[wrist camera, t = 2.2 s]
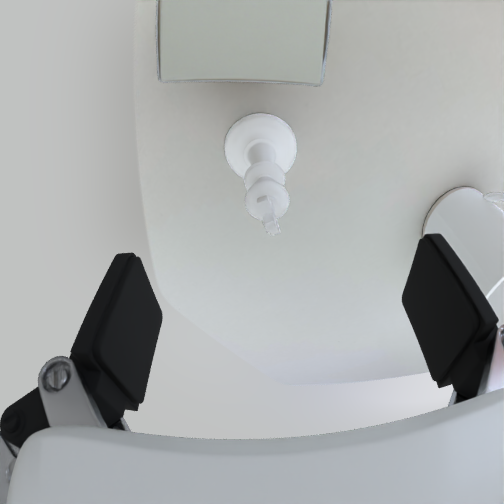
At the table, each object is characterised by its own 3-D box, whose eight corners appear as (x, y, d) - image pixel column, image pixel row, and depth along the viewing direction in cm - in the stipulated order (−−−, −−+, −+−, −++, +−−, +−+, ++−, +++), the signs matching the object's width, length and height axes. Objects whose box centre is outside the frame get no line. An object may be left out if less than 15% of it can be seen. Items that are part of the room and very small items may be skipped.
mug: (463, 263, 26) (507, 336, 18) (402, 254, 25) (448, 343, 17) (507, 175, 20) (575, 238, 12) (448, 147, 19) (533, 215, 11)
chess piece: (240, 188, 22) (235, 285, 14) (213, 127, 19) (185, 194, 11) (305, 167, 20) (341, 255, 13) (283, 103, 18) (315, 150, 10)
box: (200, 68, 16) (145, 86, 7) (202, 8, 13) (148, -41, 5) (283, 70, 16) (326, 90, 8) (288, 10, 14) (336, -38, 5)
